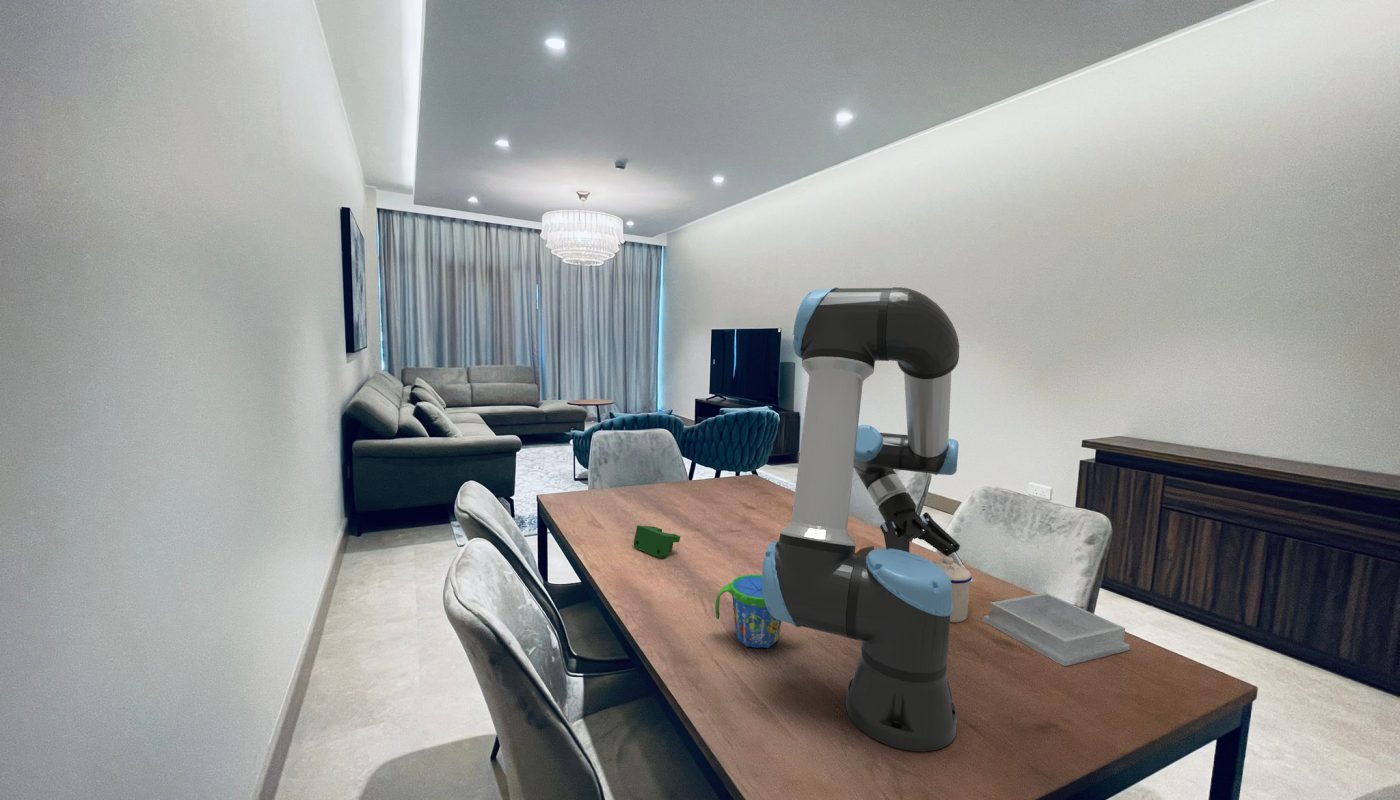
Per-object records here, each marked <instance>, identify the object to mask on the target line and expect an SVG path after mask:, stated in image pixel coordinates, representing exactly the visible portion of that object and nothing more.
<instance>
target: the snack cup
mask: <svg viewBox="0 0 1400 800" xmlns="http://www.w3.org/2000/svg"><path fill="white" fill-rule="evenodd" d="M726 592H728V593H730V595H731V597H732V608H733V617H734V618H733V619H734V626H735V636H736V639H737V640H738V641H739V642H740V643H742V644H743V645H744V646H745V647H751V648H757V649H759V648H760V649H761V648H766V649H769V648H770V647H771V646H772V645H774V644H775V643H776V642H777V641H778V638H779V635H780V630H781V625H782V624H781V623H782V621H780V620H777V619H775V618H774V617H773V616H772V615H771V614H770V613H769V611H768V610H767V607H766V604H765V601H764V596H763V588H762V574H745V575H740V576H736V577H735V578H733V579H732V581H731V582H729V583H727V584H725V585H724V586H722V587H721V589H720V590H718V593H717V596H716V600H715V606H714V609H715V610H714V613H715V618H716V620H719V619H720V597H721V595H724V593H726Z"/></svg>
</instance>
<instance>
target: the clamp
mask: <svg viewBox="0 0 1400 800" xmlns="http://www.w3.org/2000/svg"><path fill="white" fill-rule="evenodd" d="M680 541H681V535H678V534H676V533H669V532H664V531H663V529H662V528H660V527H656V526H651V525H650V526H648V525H636V530H635V534H634V539H633V547H634V548H635V549H637V550H640V551H642V552H644V553H646V554H649V555H652V556H654V557H655V558H657V559H658V558H665V559H666V558H667V557H668V555H669V553H672V551H673V547H674V543H680Z"/></svg>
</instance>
